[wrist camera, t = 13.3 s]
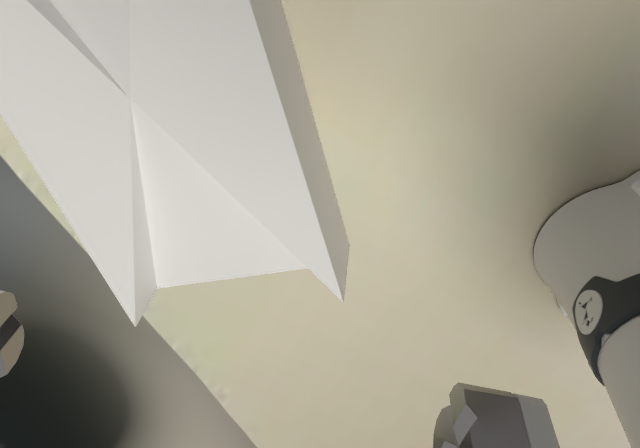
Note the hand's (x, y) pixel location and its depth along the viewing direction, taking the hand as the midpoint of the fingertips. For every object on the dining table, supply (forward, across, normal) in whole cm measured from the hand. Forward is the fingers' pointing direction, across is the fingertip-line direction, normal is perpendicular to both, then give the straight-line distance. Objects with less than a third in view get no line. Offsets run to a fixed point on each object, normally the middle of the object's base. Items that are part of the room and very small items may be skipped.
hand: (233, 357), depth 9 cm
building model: (+38, +14, +9) cm, 41 cm away
